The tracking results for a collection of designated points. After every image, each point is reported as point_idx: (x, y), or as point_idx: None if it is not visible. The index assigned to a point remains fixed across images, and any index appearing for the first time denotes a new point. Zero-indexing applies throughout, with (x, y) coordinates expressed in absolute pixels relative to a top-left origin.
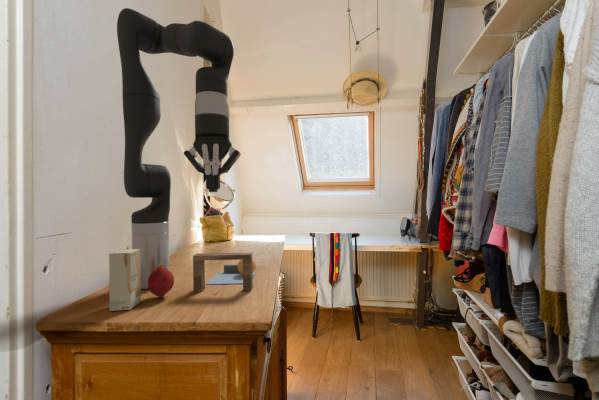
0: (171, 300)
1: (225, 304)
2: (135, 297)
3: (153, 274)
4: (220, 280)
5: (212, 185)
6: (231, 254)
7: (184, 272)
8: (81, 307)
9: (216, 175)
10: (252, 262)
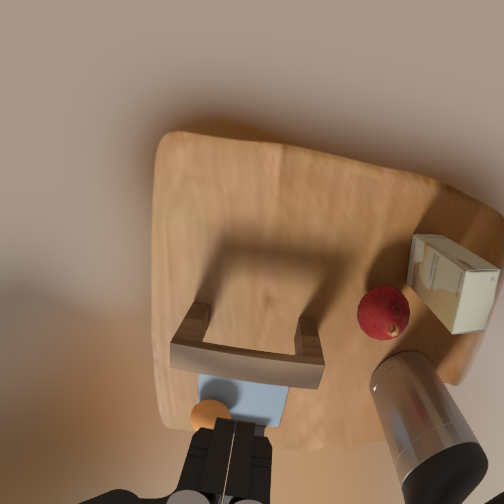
0: (352, 276)
1: (238, 229)
2: (415, 260)
3: (402, 306)
4: None
5: (227, 441)
6: (221, 357)
7: (345, 441)
8: None
9: (189, 494)
10: (194, 416)
